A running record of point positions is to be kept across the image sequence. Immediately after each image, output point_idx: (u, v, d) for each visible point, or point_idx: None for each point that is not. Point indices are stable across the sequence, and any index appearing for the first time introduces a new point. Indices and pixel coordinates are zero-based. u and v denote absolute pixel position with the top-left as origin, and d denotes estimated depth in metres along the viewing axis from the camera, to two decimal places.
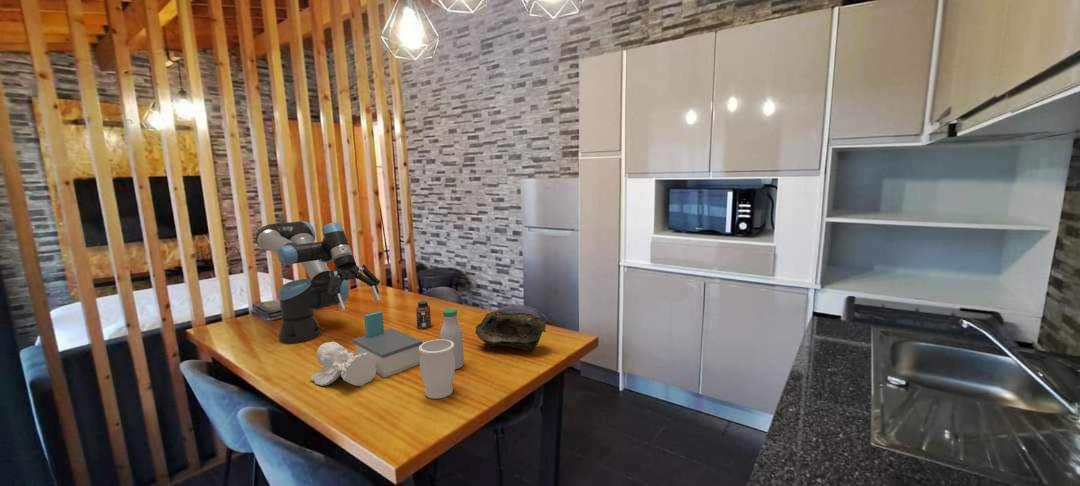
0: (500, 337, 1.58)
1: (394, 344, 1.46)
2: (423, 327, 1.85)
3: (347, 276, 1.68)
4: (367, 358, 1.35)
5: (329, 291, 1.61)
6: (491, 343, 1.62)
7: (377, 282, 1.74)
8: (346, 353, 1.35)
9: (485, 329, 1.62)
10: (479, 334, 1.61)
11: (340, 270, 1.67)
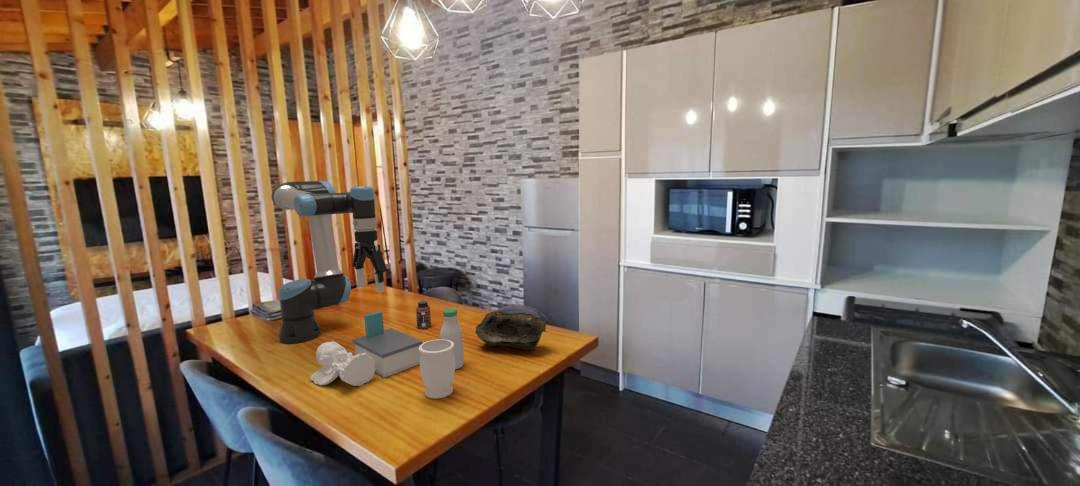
0: (500, 337, 1.58)
1: (394, 344, 1.46)
2: (423, 327, 1.85)
3: (363, 253, 1.52)
4: (366, 358, 1.35)
5: (352, 264, 1.58)
6: (491, 343, 1.62)
7: (379, 271, 1.46)
8: (345, 353, 1.35)
9: (485, 329, 1.62)
10: (479, 334, 1.61)
11: (359, 245, 1.53)
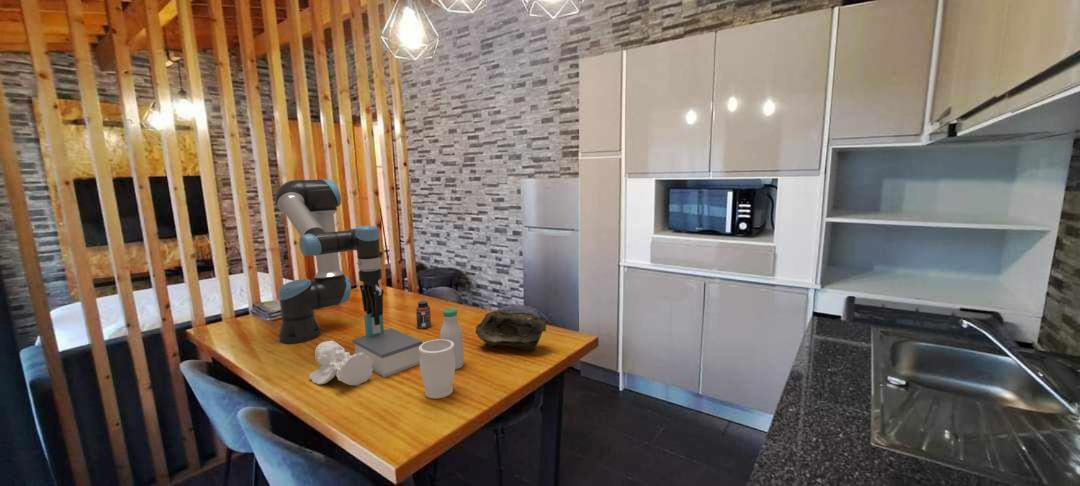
0: (500, 337, 1.58)
1: (394, 344, 1.46)
2: (423, 327, 1.85)
3: None
4: (363, 358, 1.35)
5: (364, 309, 1.57)
6: (491, 343, 1.62)
7: (375, 314, 1.52)
8: (342, 353, 1.35)
9: (485, 329, 1.62)
10: (479, 334, 1.61)
11: (364, 283, 1.55)
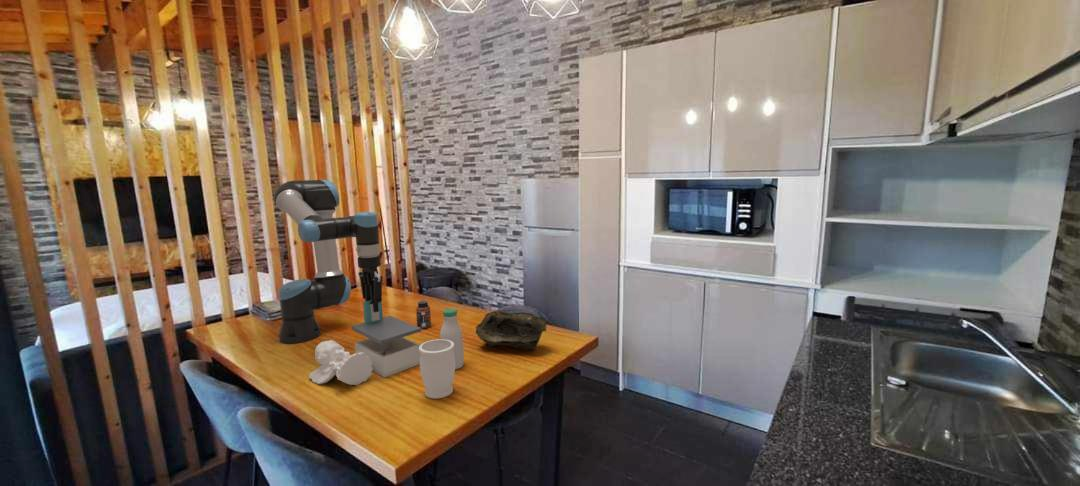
0: (501, 337, 1.58)
1: (393, 331, 1.46)
2: (423, 327, 1.85)
3: None
4: (362, 358, 1.35)
5: (363, 296, 1.56)
6: (491, 343, 1.62)
7: (374, 300, 1.51)
8: (342, 352, 1.35)
9: (485, 329, 1.62)
10: (479, 334, 1.61)
11: (362, 270, 1.54)
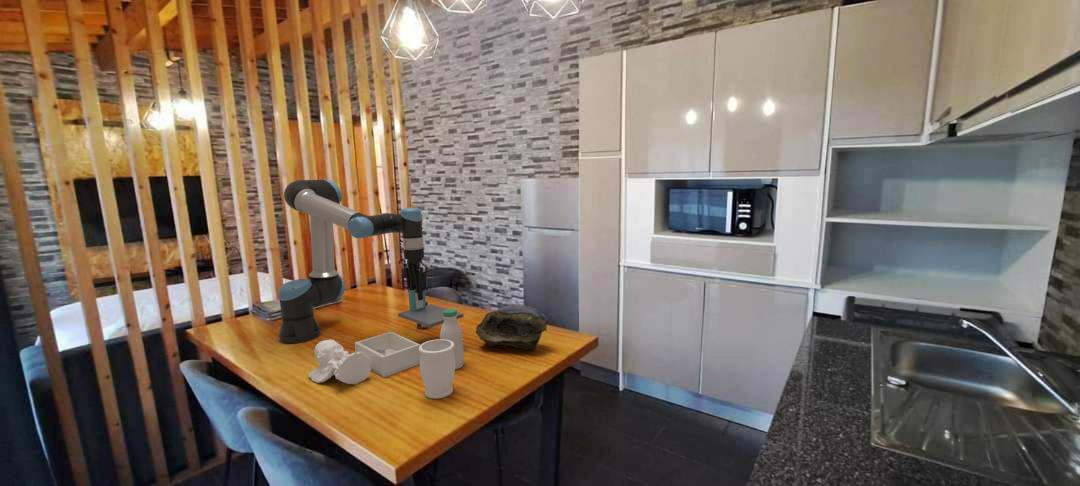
0: (501, 337, 1.58)
1: (438, 316, 1.59)
2: (423, 327, 1.85)
3: None
4: (361, 357, 1.36)
5: (407, 286, 1.69)
6: (492, 343, 1.62)
7: (419, 289, 1.64)
8: (341, 351, 1.36)
9: (486, 329, 1.62)
10: (480, 334, 1.61)
11: (407, 261, 1.67)
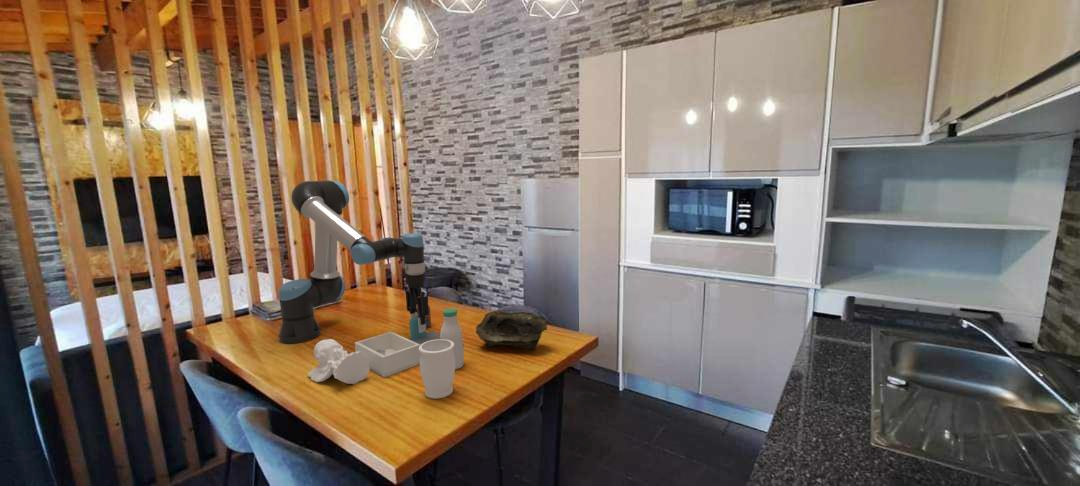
0: (501, 336, 1.59)
1: None
2: None
3: (412, 294, 1.68)
4: (359, 357, 1.36)
5: (407, 309, 1.71)
6: (492, 343, 1.62)
7: (421, 314, 1.65)
8: (340, 351, 1.36)
9: (486, 329, 1.62)
10: (480, 334, 1.61)
11: (409, 286, 1.68)
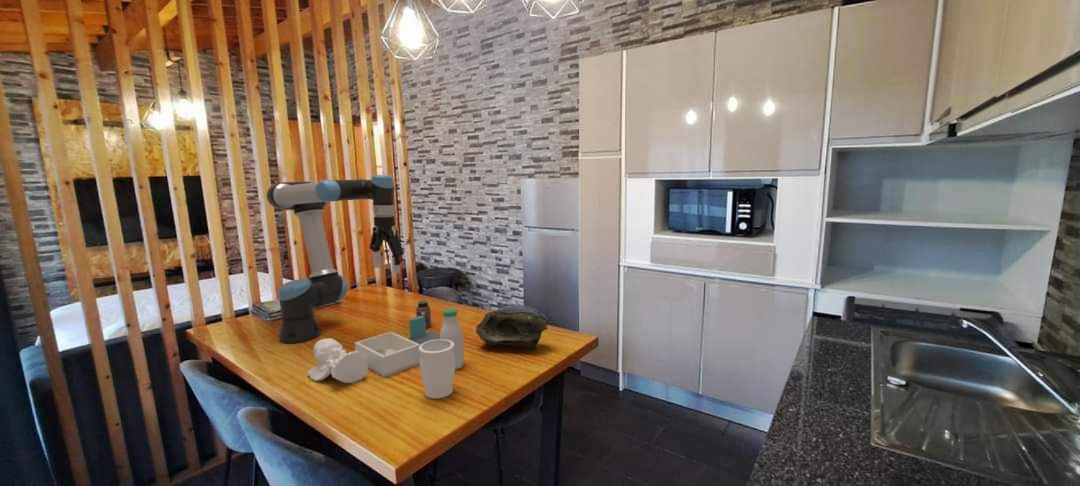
0: (502, 336, 1.59)
1: None
2: None
3: (380, 237, 1.64)
4: (358, 356, 1.36)
5: (370, 246, 1.70)
6: (492, 342, 1.62)
7: (396, 254, 1.58)
8: (338, 350, 1.37)
9: (486, 329, 1.62)
10: (480, 334, 1.61)
11: (378, 229, 1.64)
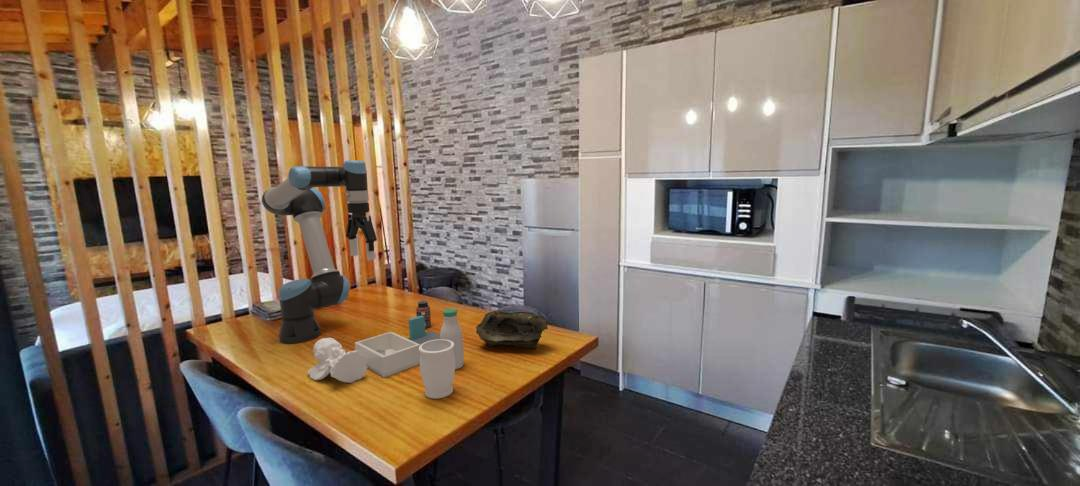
0: (502, 336, 1.59)
1: None
2: None
3: (355, 224, 1.62)
4: (357, 356, 1.37)
5: (346, 234, 1.68)
6: (492, 342, 1.62)
7: (369, 240, 1.56)
8: (337, 350, 1.37)
9: (486, 329, 1.62)
10: (480, 334, 1.61)
11: (352, 216, 1.63)
